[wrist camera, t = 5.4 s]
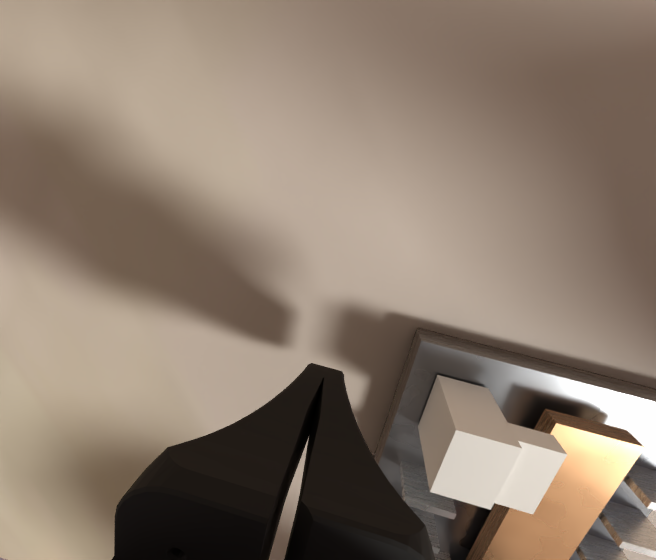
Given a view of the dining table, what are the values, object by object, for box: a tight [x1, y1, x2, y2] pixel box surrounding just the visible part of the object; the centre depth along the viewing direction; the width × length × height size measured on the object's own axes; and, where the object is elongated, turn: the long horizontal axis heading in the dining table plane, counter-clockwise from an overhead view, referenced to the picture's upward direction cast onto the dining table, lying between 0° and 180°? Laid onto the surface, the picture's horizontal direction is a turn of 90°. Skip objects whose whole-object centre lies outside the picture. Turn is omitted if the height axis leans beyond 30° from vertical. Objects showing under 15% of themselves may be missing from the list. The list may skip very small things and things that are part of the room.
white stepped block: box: [418, 375, 567, 514], centre depth 11 cm, size 4×3×3 cm
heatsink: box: [374, 328, 656, 560], centre depth 14 cm, size 11×13×3 cm
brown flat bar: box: [466, 408, 645, 560], centre depth 13 cm, size 4×11×1 cm, turn 168°
